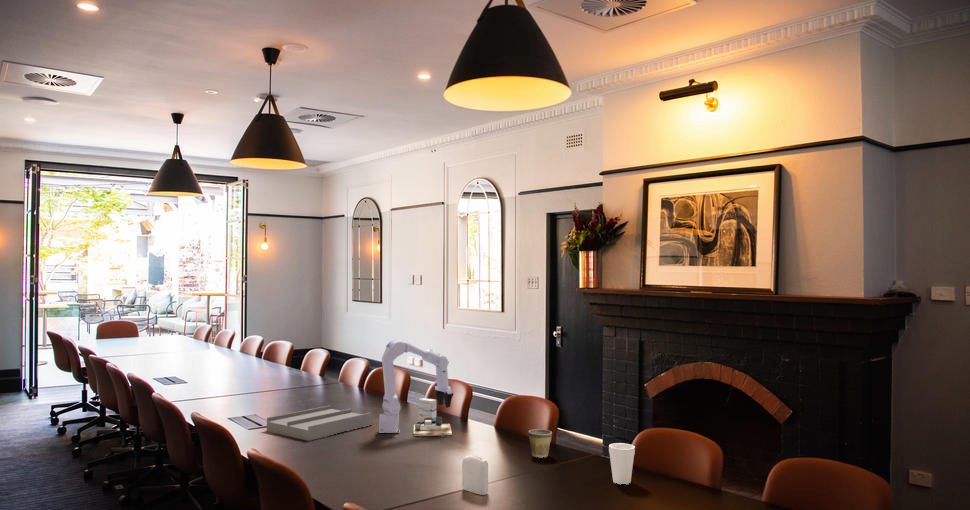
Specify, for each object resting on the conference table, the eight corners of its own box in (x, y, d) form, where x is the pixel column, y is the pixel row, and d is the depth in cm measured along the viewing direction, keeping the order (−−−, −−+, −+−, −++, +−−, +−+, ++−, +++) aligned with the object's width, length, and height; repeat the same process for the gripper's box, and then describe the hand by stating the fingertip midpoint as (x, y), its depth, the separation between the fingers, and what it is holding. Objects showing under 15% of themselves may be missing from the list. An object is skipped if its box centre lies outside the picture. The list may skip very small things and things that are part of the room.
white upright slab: (460, 489, 227) (460, 454, 228) (468, 487, 230) (469, 452, 231) (481, 496, 220) (481, 460, 220) (490, 493, 223) (490, 457, 224)
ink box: (436, 422, 336) (436, 399, 336) (431, 424, 331) (431, 401, 332) (423, 420, 340) (423, 397, 340) (418, 422, 336) (418, 399, 336)
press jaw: (425, 428, 313) (425, 421, 313) (425, 427, 316) (425, 420, 316) (431, 428, 313) (431, 421, 313) (431, 427, 316) (431, 420, 316)
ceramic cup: (550, 459, 267) (550, 435, 267) (526, 458, 269) (526, 433, 269) (553, 451, 279) (553, 428, 280) (530, 450, 281) (531, 427, 282)
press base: (413, 436, 303) (413, 425, 304) (413, 427, 323) (414, 416, 323) (451, 436, 305) (451, 424, 305) (449, 426, 325) (449, 415, 325)
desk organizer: (266, 432, 312) (266, 417, 313) (330, 418, 345) (330, 405, 345) (309, 441, 294) (309, 426, 294) (372, 426, 327) (372, 412, 327)
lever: (414, 430, 309) (414, 418, 309) (414, 429, 312) (414, 417, 312) (441, 430, 310) (441, 418, 310) (441, 428, 313) (441, 416, 313)
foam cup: (616, 476, 244) (616, 441, 245) (639, 481, 238) (639, 445, 239) (604, 482, 237) (604, 446, 237) (627, 487, 231) (627, 451, 232)
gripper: (456, 379, 322) (458, 406, 322) (442, 376, 334) (444, 402, 334) (443, 382, 318) (445, 409, 318) (430, 378, 331) (432, 404, 331)
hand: (444, 406), depth 326 cm, fingers open, 7 cm apart
